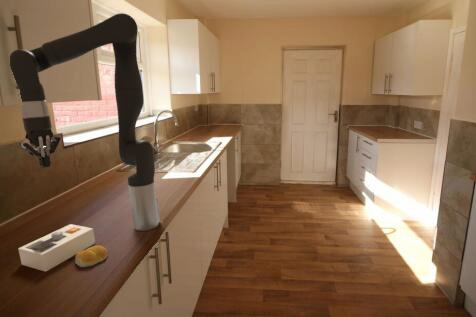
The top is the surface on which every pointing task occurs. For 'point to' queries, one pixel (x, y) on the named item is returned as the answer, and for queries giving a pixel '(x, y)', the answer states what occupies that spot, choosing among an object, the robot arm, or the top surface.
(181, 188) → the top surface
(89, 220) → the top surface
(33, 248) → the rocker
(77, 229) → the orange button
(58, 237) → the grey button
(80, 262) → the bread roll
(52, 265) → the console
